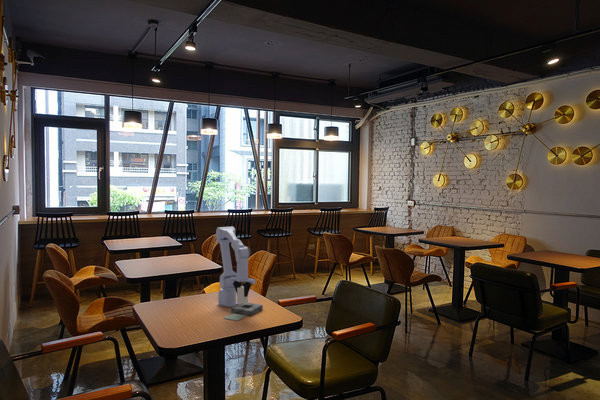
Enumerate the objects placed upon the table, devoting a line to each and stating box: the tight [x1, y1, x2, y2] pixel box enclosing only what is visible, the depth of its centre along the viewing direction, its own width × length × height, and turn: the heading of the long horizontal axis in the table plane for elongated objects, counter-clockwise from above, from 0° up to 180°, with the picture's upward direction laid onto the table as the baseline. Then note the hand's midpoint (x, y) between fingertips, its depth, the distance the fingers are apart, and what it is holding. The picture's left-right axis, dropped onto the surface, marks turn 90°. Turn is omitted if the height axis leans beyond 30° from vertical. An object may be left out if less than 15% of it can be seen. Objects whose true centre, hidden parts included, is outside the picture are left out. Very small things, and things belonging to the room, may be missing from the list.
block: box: [236, 285, 249, 304], centre depth 210 cm, size 4×4×8 cm
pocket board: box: [230, 301, 264, 317], centre depth 215 cm, size 12×12×2 cm
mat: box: [223, 313, 247, 322], centre depth 204 cm, size 8×8×1 cm
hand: (242, 295), depth 210 cm, fingers closed on block, 4 cm apart
